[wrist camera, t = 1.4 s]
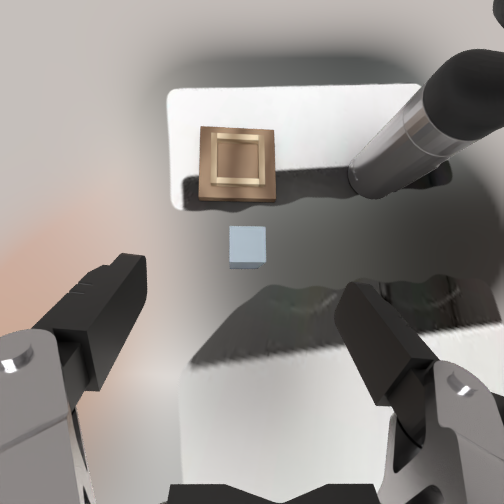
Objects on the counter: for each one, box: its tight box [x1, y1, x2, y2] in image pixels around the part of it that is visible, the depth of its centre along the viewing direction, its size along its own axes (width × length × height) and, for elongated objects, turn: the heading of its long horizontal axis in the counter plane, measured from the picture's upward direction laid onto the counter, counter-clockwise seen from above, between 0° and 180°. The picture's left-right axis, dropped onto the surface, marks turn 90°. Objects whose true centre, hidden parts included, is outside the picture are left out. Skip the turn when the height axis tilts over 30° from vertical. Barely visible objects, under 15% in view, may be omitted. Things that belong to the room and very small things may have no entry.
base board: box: [199, 126, 276, 202], centre depth 40 cm, size 13×13×3 cm
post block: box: [230, 226, 266, 269], centre depth 34 cm, size 5×5×10 cm
